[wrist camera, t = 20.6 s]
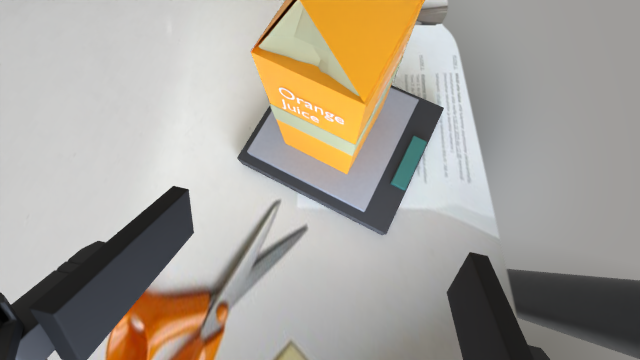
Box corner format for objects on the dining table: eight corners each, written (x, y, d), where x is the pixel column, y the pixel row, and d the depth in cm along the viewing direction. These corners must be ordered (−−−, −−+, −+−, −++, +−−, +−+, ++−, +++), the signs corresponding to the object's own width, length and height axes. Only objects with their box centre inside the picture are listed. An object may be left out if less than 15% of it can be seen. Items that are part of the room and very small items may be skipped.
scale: (437, 115, 35) (447, 103, 32) (382, 235, 31) (388, 233, 28) (306, 58, 37) (304, 41, 34) (242, 163, 34) (234, 155, 31)
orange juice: (383, 107, 32) (474, -120, 12) (347, 175, 30) (387, 34, 11) (321, 78, 33) (314, -173, 13) (283, 143, 31) (210, -41, 12)
